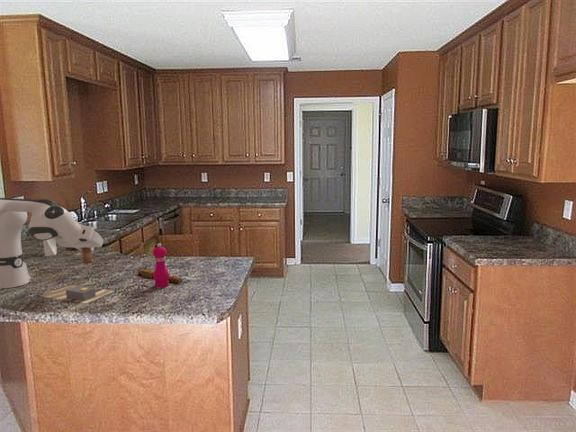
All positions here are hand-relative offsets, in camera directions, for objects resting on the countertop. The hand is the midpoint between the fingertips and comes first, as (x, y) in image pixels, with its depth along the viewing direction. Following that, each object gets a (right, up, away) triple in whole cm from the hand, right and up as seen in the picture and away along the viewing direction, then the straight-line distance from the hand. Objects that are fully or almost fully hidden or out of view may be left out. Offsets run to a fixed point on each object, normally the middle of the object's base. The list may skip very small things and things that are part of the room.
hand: (87, 249), depth 203 cm
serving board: (-43, -4, +93) cm, 102 cm away
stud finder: (+4, -19, -15) cm, 25 cm away
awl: (0, -6, 0) cm, 6 cm away
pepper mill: (+34, -17, +2) cm, 38 cm away
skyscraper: (-51, -8, +64) cm, 82 cm away
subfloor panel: (+1, -19, -10) cm, 22 cm away
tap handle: (+29, -15, +13) cm, 35 cm away
